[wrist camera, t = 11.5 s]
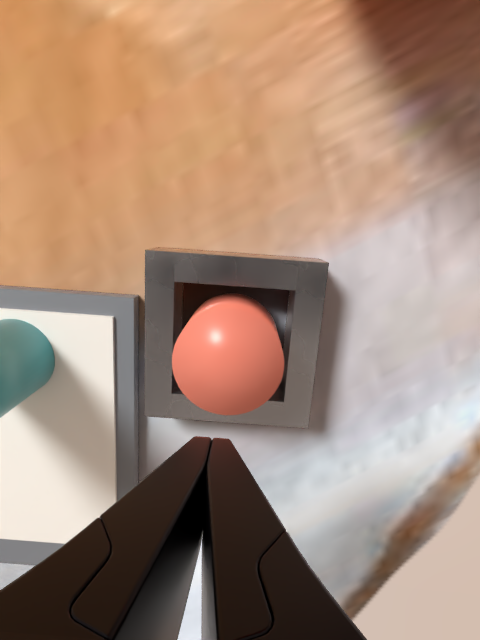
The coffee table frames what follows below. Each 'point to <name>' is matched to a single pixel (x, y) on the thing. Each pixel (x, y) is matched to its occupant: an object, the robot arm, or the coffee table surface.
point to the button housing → (246, 271)
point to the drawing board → (69, 420)
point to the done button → (229, 355)
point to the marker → (22, 362)
